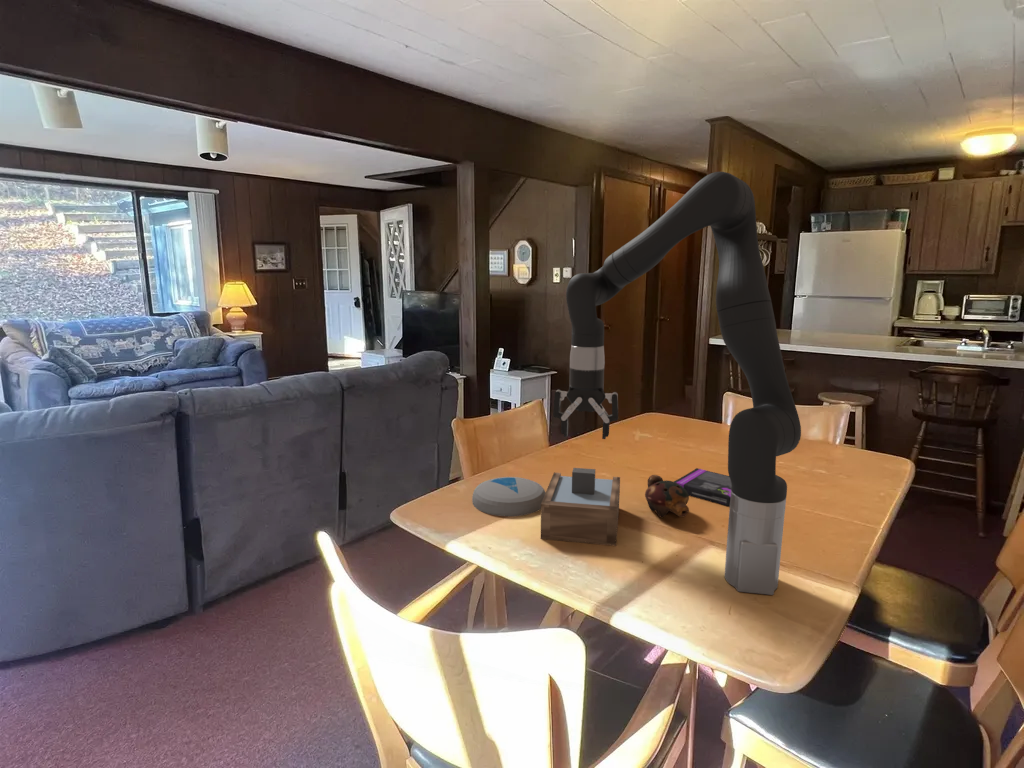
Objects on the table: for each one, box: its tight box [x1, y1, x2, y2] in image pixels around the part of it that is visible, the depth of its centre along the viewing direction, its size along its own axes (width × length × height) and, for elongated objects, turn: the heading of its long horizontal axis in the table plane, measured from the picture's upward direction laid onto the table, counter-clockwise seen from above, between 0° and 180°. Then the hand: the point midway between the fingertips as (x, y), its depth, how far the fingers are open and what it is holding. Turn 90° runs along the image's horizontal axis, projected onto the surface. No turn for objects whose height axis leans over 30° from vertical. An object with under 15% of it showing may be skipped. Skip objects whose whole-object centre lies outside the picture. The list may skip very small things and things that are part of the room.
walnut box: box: [540, 472, 621, 547], centre depth 133 cm, size 20×16×8 cm
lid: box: [551, 467, 613, 506], centre depth 133 cm, size 18×14×6 cm
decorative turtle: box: [644, 474, 690, 518], centre depth 138 cm, size 10×15×8 cm, turn 21°
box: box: [673, 467, 731, 508], centre depth 151 cm, size 14×4×20 cm
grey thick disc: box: [471, 476, 546, 517], centre depth 146 cm, size 18×18×5 cm
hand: (584, 437), depth 131 cm, fingers open, 8 cm apart
